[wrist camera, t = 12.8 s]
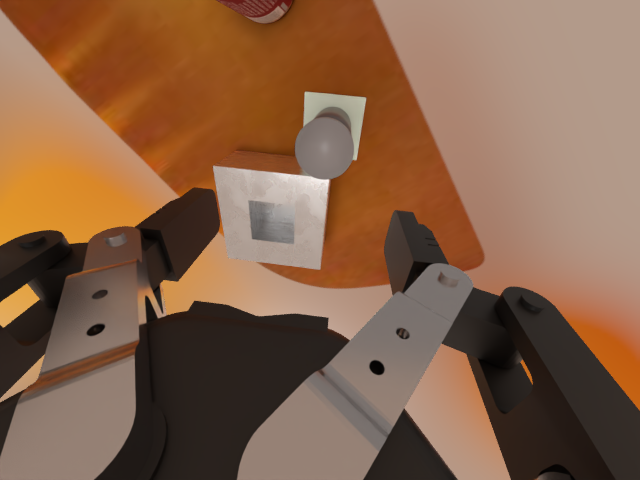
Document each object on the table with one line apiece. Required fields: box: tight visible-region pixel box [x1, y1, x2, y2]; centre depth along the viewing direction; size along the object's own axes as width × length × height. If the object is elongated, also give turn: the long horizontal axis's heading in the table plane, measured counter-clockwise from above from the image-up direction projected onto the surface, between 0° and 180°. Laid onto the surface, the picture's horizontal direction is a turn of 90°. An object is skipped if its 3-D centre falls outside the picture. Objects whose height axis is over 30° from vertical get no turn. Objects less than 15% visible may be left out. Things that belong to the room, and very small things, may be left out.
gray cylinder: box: [295, 107, 354, 180], centre depth 26 cm, size 5×5×11 cm
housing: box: [213, 150, 331, 270], centre depth 34 cm, size 13×13×7 cm
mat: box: [304, 92, 366, 160], centre depth 30 cm, size 7×7×1 cm
